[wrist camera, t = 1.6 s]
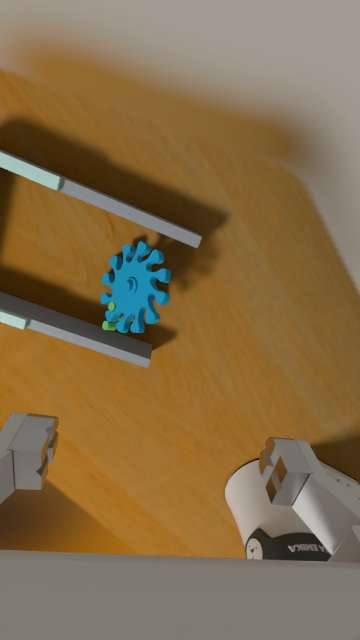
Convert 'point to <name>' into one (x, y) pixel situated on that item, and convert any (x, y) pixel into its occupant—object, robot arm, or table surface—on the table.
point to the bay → (63, 325)
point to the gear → (134, 289)
